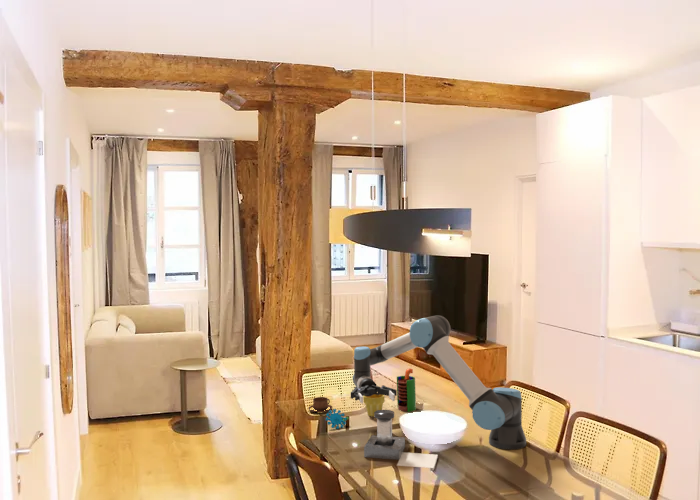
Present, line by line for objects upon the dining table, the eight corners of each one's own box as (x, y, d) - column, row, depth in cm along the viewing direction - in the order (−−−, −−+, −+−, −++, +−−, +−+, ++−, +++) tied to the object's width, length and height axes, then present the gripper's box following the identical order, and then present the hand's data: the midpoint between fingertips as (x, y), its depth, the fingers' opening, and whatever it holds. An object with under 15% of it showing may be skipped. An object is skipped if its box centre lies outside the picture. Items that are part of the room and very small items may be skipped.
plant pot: (361, 417, 297) (360, 397, 297) (367, 411, 307) (366, 391, 306) (381, 418, 294) (381, 398, 293) (387, 412, 303) (386, 393, 303)
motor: (393, 408, 310) (392, 369, 309) (405, 404, 316) (404, 366, 315) (408, 412, 303) (407, 372, 302) (420, 408, 309) (419, 369, 308)
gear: (327, 427, 277) (325, 407, 284) (324, 434, 281) (321, 414, 288) (350, 427, 281) (347, 408, 287) (346, 434, 285) (343, 414, 291)
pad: (437, 457, 243) (437, 454, 243) (433, 470, 229) (433, 468, 229) (402, 454, 246) (402, 452, 246) (396, 468, 233) (396, 465, 233)
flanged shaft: (396, 449, 250) (395, 410, 249) (393, 456, 242) (392, 416, 242) (377, 447, 252) (376, 409, 251) (373, 454, 244) (372, 415, 244)
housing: (404, 449, 252) (404, 437, 252) (399, 462, 239) (399, 449, 238) (371, 447, 256) (371, 435, 255) (364, 459, 242) (364, 447, 242)
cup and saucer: (316, 406, 317) (315, 394, 317) (336, 409, 312) (336, 397, 311) (304, 413, 306) (304, 400, 306) (325, 415, 301) (325, 403, 301)
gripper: (393, 392, 279) (406, 405, 259) (339, 396, 275) (348, 409, 254) (393, 376, 279) (406, 388, 258) (339, 379, 274) (348, 392, 254)
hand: (378, 399), depth 256 cm, fingers open, 13 cm apart
